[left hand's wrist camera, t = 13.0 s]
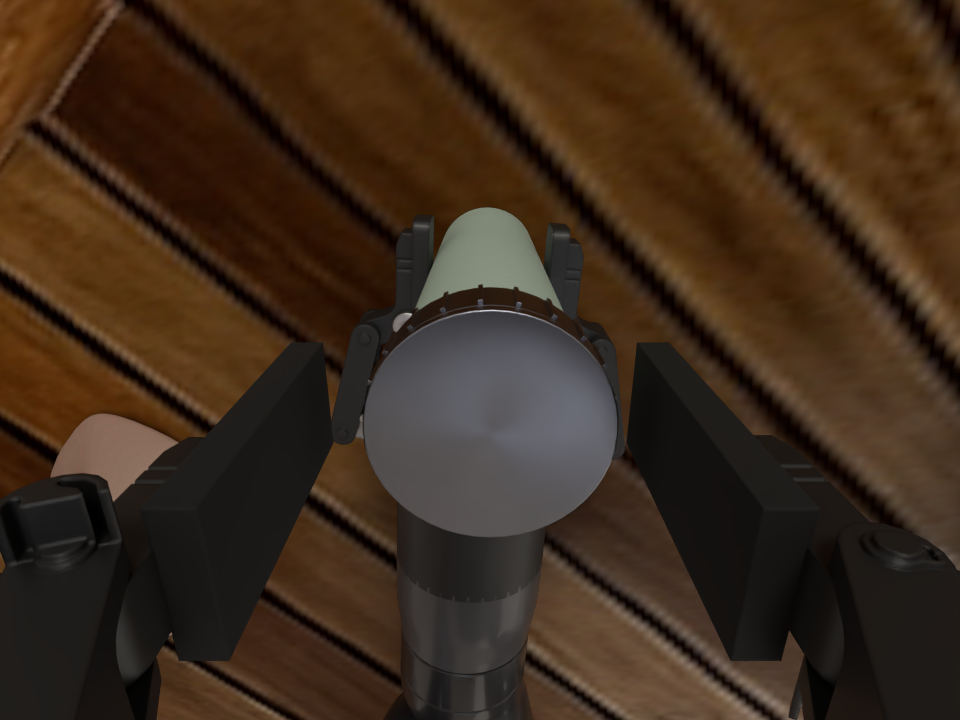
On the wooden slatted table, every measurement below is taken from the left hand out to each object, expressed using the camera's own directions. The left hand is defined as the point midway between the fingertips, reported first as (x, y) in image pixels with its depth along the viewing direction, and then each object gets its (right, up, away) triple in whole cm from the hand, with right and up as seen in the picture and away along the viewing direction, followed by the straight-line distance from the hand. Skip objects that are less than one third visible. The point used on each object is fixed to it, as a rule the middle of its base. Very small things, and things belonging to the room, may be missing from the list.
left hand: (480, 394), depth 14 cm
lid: (0, -1, -1) cm, 2 cm away
